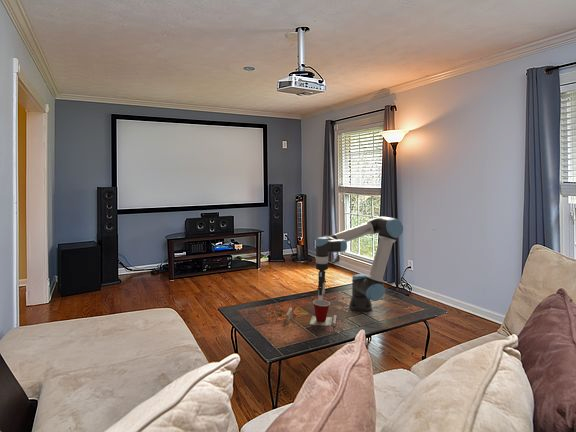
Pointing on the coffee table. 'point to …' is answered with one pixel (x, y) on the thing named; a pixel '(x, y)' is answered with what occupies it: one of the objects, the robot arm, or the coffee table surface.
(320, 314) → the plastic cup
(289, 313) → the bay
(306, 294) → the coffee table surface
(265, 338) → the coffee table surface
